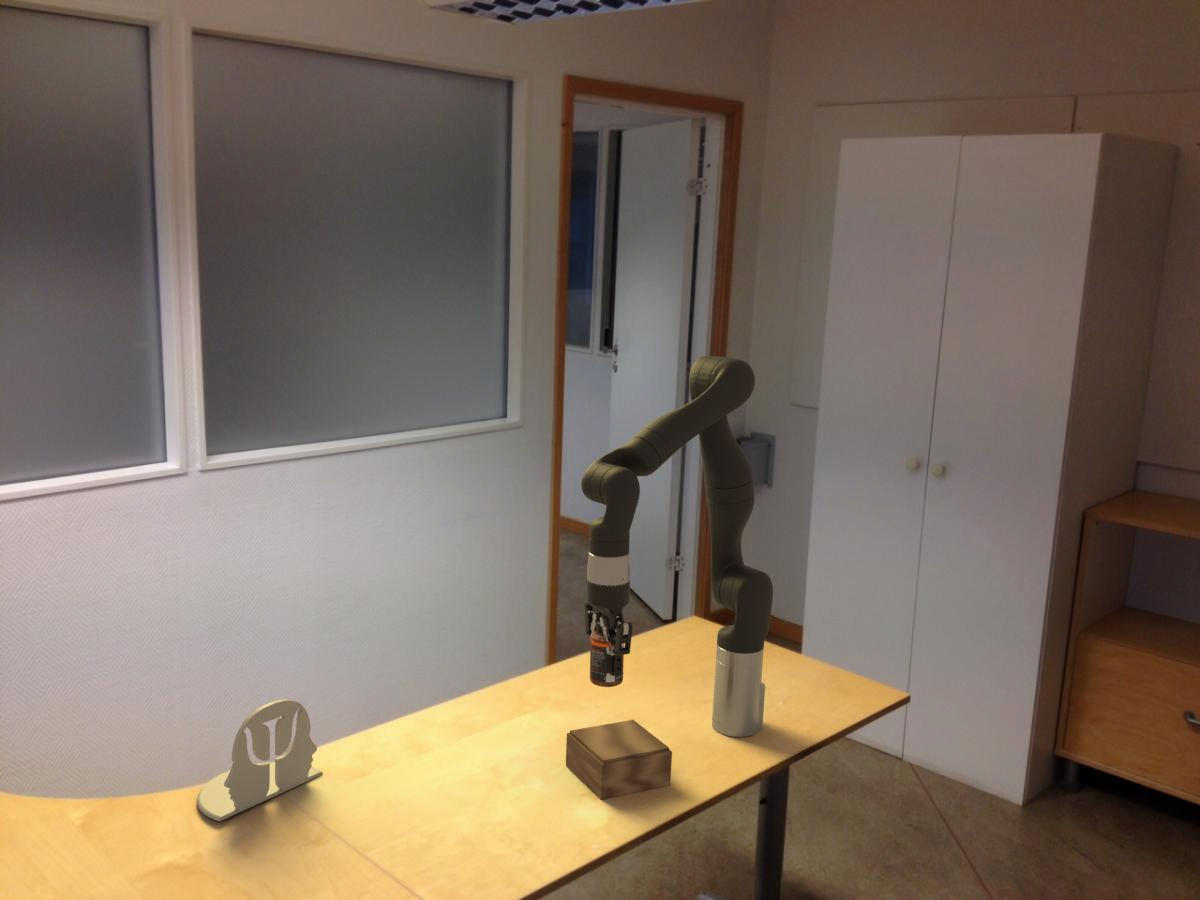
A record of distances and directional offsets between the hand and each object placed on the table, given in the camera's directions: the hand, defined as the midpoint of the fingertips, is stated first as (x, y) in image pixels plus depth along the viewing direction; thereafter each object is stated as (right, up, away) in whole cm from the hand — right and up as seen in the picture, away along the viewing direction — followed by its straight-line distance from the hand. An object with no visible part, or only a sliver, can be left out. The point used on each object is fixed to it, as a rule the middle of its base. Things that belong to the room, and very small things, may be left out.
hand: (606, 667), depth 197 cm
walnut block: (+2, -20, +4) cm, 21 cm away
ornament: (-62, -20, -5) cm, 65 cm away
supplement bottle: (0, -3, 0) cm, 3 cm away
